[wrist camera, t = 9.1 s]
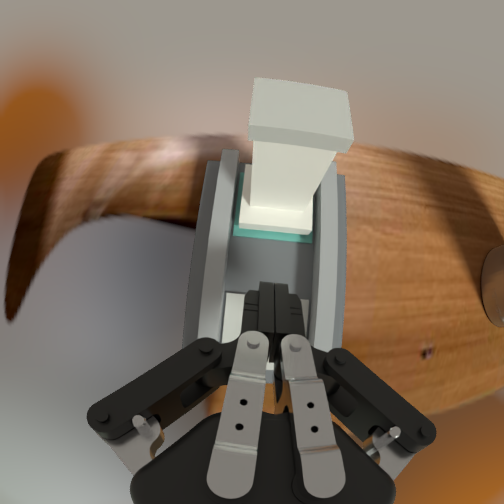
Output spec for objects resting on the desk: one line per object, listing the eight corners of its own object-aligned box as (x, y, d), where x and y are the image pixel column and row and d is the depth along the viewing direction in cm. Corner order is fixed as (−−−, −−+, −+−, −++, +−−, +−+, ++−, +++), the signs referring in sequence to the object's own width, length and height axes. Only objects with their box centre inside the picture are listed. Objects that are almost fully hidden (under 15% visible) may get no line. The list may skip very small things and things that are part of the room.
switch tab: (245, 172, 20) (247, 66, 10) (309, 179, 20) (353, 81, 10) (239, 228, 19) (234, 141, 9) (308, 235, 19) (365, 159, 9)
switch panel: (210, 172, 23) (205, 147, 19) (337, 186, 23) (352, 164, 19) (186, 368, 19) (174, 378, 16) (328, 378, 19) (345, 390, 16)
